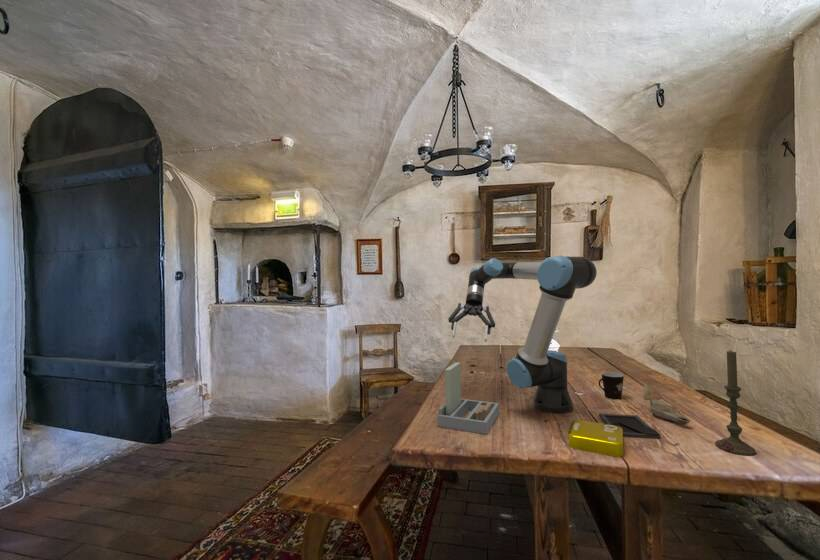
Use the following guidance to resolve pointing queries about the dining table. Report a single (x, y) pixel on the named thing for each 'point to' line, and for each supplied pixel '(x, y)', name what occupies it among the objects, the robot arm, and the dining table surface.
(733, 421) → the candlestick holder
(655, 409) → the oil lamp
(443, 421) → the offcut rack
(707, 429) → the dining table surface
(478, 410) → the pine offcut stack
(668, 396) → the dining table surface
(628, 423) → the picture frame
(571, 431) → the element tile
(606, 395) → the coffee mug
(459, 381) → the sage hardboard sheet
